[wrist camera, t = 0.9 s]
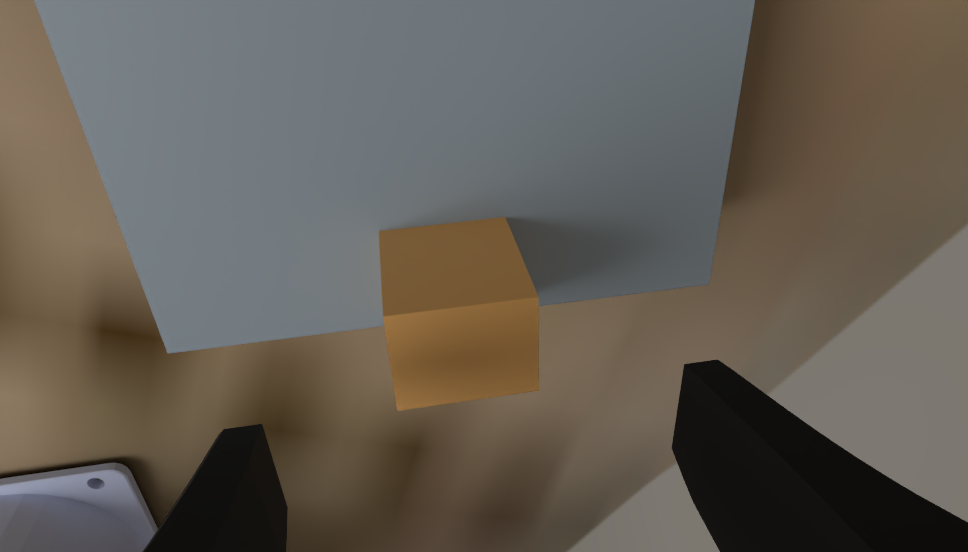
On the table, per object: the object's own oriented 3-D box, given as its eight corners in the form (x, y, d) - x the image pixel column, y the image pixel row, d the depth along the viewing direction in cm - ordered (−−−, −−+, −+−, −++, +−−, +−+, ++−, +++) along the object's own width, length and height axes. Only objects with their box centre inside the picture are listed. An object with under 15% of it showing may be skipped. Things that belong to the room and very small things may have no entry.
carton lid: (172, 341, 17) (125, 461, 13) (-54, -272, 10) (-254, -339, 7) (700, 274, 18) (778, 366, 15) (787, -294, 12) (957, -359, 8)
